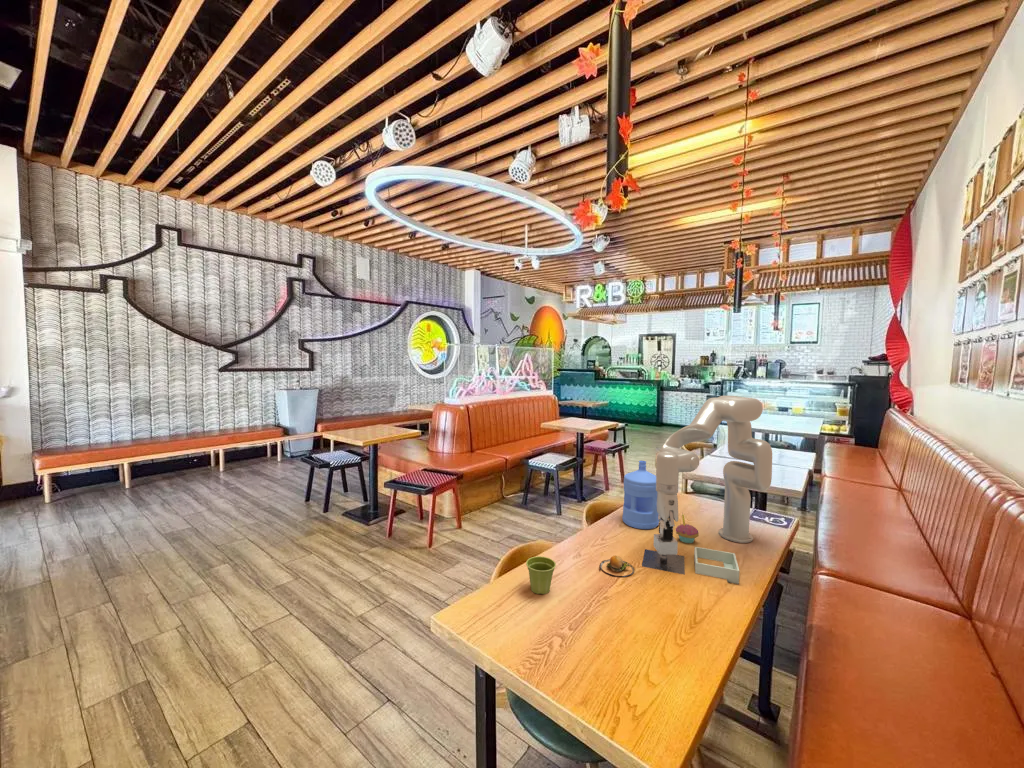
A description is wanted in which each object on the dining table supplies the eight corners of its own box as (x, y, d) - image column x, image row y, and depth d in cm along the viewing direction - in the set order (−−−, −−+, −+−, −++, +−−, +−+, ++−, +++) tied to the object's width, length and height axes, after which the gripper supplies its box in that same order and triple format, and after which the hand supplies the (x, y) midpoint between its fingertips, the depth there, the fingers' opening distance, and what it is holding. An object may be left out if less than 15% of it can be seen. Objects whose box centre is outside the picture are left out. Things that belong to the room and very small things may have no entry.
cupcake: (675, 544, 167) (676, 515, 166) (675, 536, 174) (676, 508, 174) (698, 548, 163) (700, 519, 163) (697, 540, 171) (699, 511, 170)
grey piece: (671, 546, 155) (671, 517, 154) (677, 554, 148) (678, 524, 147) (653, 545, 155) (654, 517, 154) (659, 554, 148) (659, 524, 147)
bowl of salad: (640, 572, 146) (641, 551, 146) (623, 585, 138) (624, 563, 137) (609, 560, 154) (610, 540, 154) (592, 572, 146) (593, 551, 145)
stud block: (644, 551, 161) (645, 539, 160) (684, 558, 155) (684, 545, 155) (641, 569, 148) (642, 555, 147) (684, 577, 142) (685, 563, 142)
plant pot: (539, 578, 141) (539, 553, 140) (561, 589, 134) (561, 563, 134) (519, 588, 134) (520, 562, 134) (541, 601, 128) (542, 574, 127)
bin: (694, 558, 156) (694, 546, 155) (734, 565, 151) (734, 553, 150) (695, 576, 143) (695, 563, 143) (738, 584, 139) (739, 570, 138)
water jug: (634, 513, 199) (636, 455, 197) (665, 523, 188) (667, 462, 185) (615, 522, 189) (617, 460, 186) (647, 533, 177) (649, 468, 175)
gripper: (686, 495, 141) (685, 547, 143) (669, 479, 158) (668, 526, 159) (664, 495, 141) (662, 547, 143) (649, 479, 158) (648, 526, 160)
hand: (665, 535), depth 151 cm, fingers closed on grey piece, 4 cm apart
